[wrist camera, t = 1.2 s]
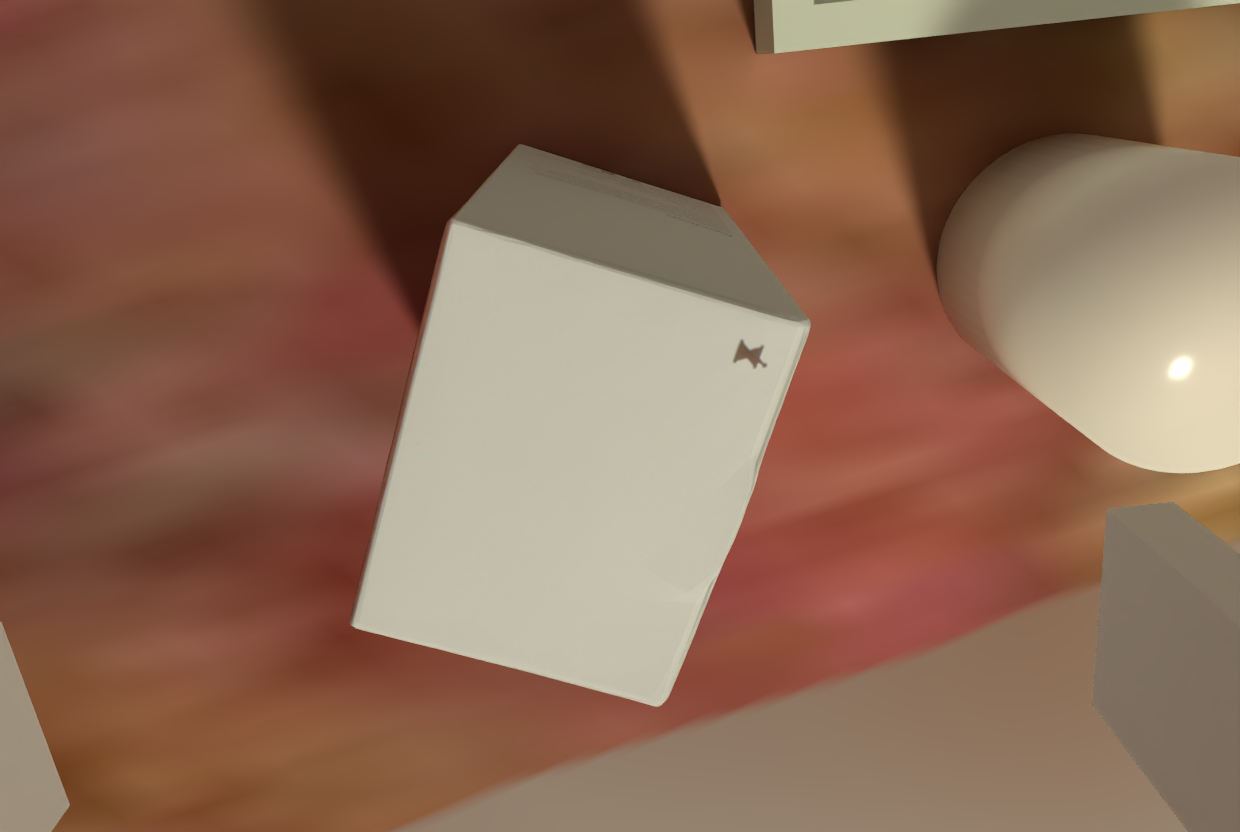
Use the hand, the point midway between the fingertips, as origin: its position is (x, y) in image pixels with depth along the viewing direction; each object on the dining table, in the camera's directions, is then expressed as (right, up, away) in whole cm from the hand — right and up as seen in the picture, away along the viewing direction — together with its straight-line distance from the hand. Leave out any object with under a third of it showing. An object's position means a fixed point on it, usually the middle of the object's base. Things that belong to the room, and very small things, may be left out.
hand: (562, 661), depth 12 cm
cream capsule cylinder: (+14, +8, +17) cm, 23 cm away
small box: (0, +6, +18) cm, 19 cm away
